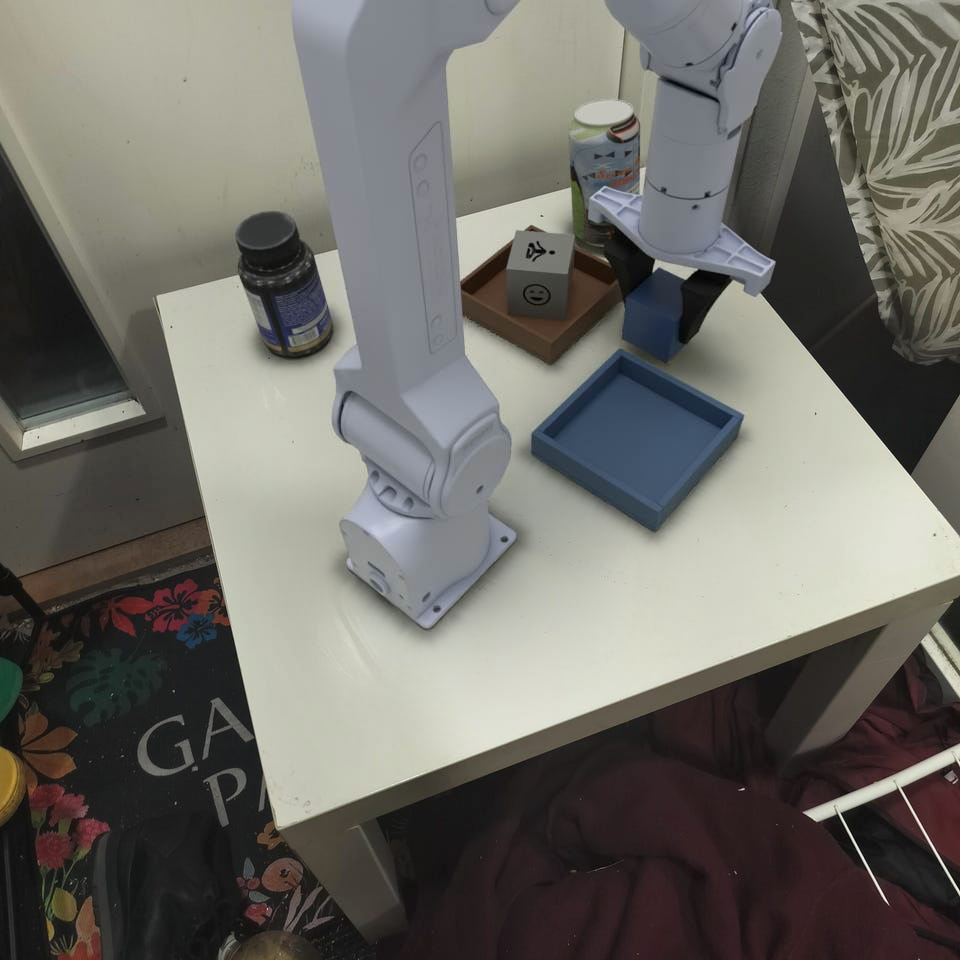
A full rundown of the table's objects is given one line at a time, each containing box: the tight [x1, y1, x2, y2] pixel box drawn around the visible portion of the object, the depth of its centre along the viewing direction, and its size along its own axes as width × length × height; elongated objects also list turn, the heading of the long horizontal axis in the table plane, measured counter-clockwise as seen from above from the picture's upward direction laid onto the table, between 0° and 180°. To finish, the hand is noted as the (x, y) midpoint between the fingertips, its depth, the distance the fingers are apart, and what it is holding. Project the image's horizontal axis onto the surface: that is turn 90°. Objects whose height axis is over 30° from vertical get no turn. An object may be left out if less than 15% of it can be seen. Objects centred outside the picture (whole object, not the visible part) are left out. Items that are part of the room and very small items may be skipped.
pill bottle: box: [234, 210, 334, 357], centre depth 68 cm, size 6×6×11 cm
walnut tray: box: [460, 224, 623, 366], centre depth 73 cm, size 11×11×2 cm
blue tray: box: [530, 347, 745, 533], centre depth 63 cm, size 11×11×2 cm
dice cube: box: [506, 229, 576, 320], centre depth 71 cm, size 5×5×5 cm
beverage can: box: [567, 98, 641, 248], centre depth 74 cm, size 6×7×12 cm
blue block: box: [620, 266, 686, 364], centre depth 67 cm, size 4×4×4 cm
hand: (662, 322), depth 68 cm, fingers closed on blue block, 4 cm apart
